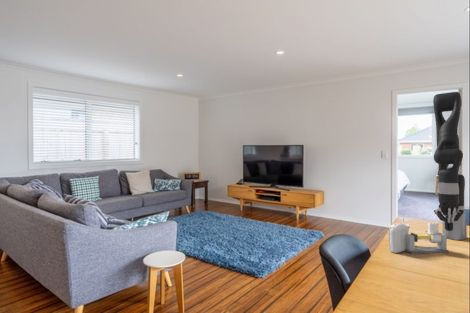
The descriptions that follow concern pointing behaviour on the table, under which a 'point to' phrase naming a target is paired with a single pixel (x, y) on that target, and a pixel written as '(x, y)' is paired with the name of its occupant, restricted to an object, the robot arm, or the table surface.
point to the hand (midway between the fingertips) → (448, 230)
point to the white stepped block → (434, 233)
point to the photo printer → (397, 237)
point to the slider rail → (419, 250)
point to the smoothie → (406, 225)
